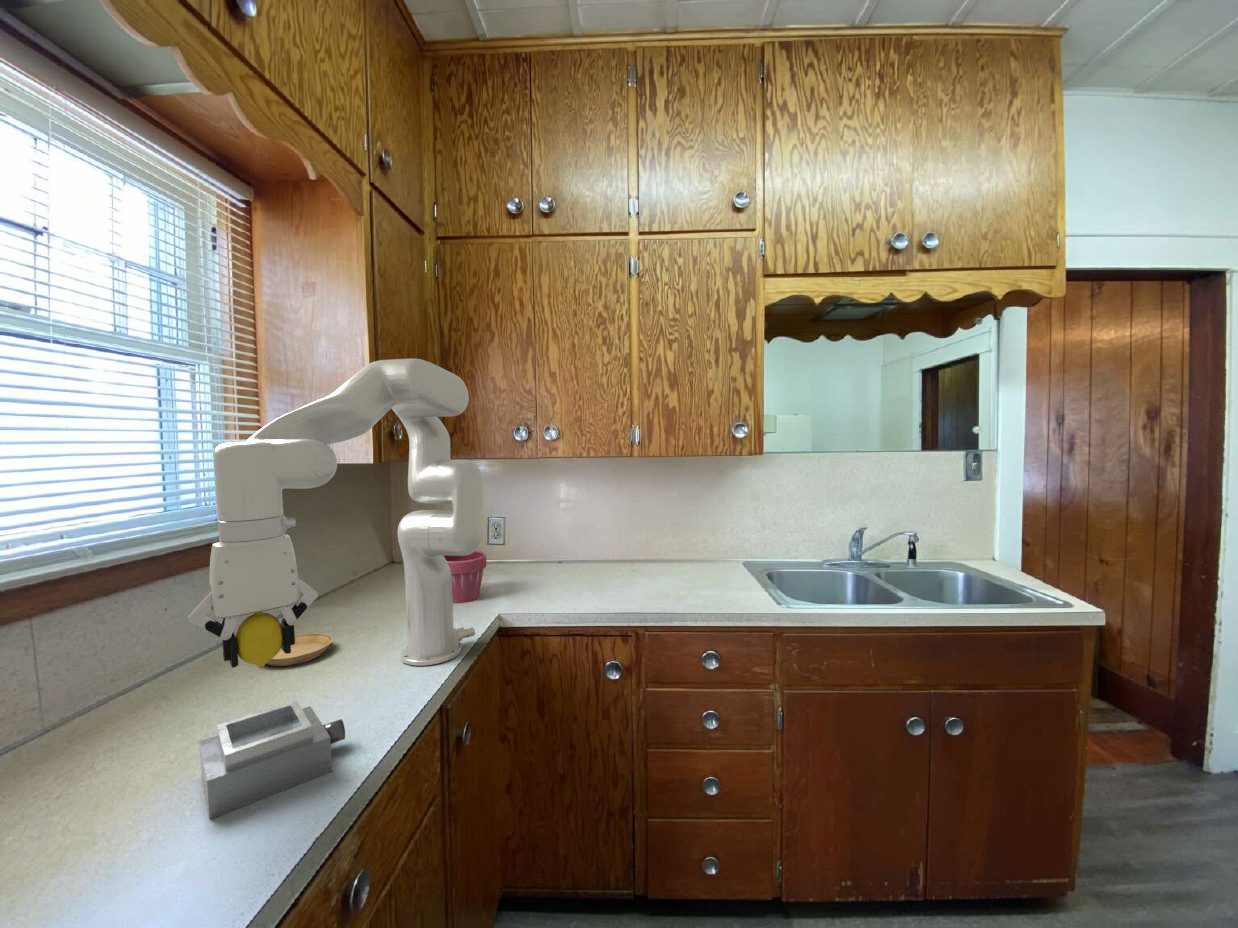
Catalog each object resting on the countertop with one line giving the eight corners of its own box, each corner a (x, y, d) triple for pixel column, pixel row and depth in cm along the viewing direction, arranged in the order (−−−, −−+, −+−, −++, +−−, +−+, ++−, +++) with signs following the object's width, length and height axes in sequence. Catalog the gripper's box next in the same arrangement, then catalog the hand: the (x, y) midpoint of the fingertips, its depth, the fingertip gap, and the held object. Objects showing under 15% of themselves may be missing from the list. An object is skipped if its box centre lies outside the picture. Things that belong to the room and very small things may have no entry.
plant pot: (485, 604, 151) (483, 559, 150) (433, 607, 148) (431, 562, 148) (489, 589, 165) (488, 548, 164) (442, 592, 163) (440, 551, 162)
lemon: (262, 676, 72) (258, 618, 72) (227, 674, 73) (223, 617, 73) (293, 659, 78) (290, 605, 77) (260, 657, 79) (257, 604, 78)
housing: (332, 729, 87) (330, 687, 87) (354, 761, 78) (352, 715, 78) (201, 775, 76) (198, 727, 76) (209, 819, 67) (205, 765, 67)
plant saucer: (265, 649, 122) (264, 638, 122) (337, 639, 127) (337, 628, 127) (246, 676, 108) (245, 663, 108) (328, 663, 113) (327, 651, 113)
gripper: (315, 519, 83) (321, 633, 84) (170, 536, 71) (180, 667, 72) (327, 525, 77) (334, 647, 78) (173, 543, 66) (184, 686, 67)
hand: (260, 656), depth 75 cm, fingers closed on lemon, 5 cm apart
